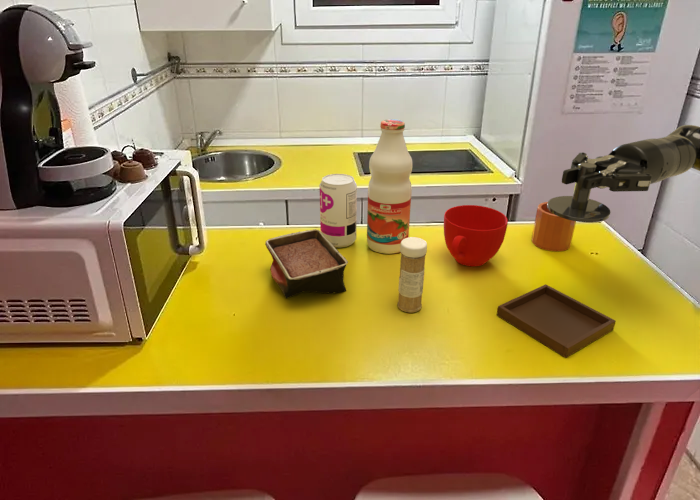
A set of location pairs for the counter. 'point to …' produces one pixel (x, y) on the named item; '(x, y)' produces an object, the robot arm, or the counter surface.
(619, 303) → the counter surface
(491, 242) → the ceramic cup
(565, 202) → the grey peg stand
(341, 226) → the supplement can
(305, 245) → the baking dish
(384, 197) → the fruit juice
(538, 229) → the jar
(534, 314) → the tray
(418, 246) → the sprinkles bottle
